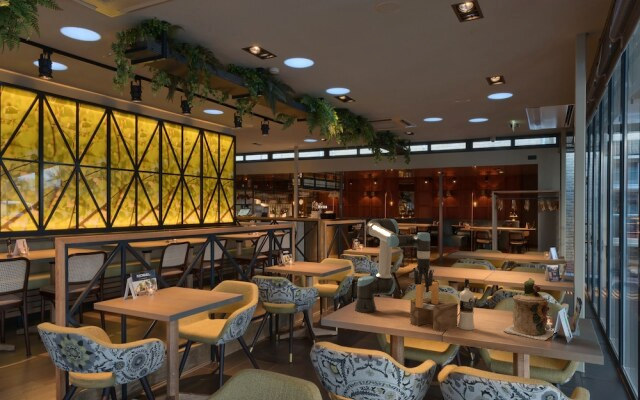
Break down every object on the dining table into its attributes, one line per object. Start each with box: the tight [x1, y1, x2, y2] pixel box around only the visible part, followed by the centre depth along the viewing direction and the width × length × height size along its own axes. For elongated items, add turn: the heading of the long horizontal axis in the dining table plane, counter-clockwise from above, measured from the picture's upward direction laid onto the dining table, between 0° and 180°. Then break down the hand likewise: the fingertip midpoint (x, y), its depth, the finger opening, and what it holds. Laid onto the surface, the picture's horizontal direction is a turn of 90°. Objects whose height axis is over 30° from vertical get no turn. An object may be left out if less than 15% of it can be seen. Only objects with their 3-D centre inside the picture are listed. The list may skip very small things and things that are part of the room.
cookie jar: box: [503, 277, 555, 341], centre depth 273 cm, size 25×25×32 cm
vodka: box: [457, 278, 475, 331], centre depth 280 cm, size 9×9×30 cm
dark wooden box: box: [410, 297, 459, 333], centre depth 286 cm, size 22×18×14 cm
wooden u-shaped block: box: [415, 281, 440, 308], centre depth 281 cm, size 4×19×13 cm, turn 133°
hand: (423, 296), depth 278 cm, fingers closed on wooden u-shaped block, 3 cm apart
